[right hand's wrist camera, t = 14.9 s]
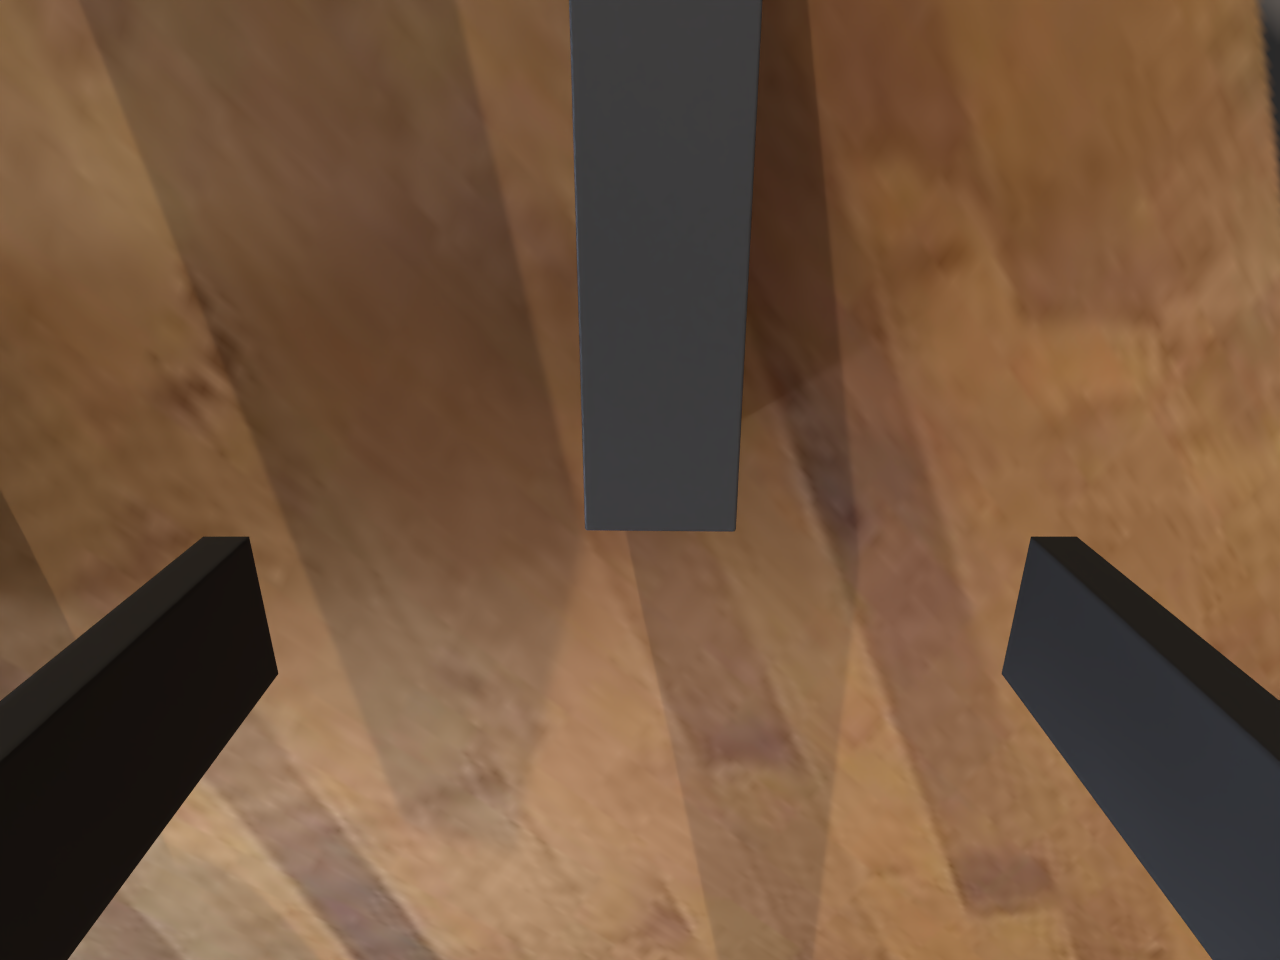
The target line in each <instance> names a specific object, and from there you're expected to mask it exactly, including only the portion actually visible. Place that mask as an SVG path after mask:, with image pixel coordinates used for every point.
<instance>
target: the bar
mask: <svg viewBox="0 0 1280 960" xmlns="http://www.w3.org/2000/svg"><path fill="white" fill-rule="evenodd" d="M569 11H570V44H571V77H572V110H573V143H574V176H575V210H576V243H577V276H578V309H579V342H580V375H581V409H582V442H583V475H584V508H585V529H586V530H623V531H735V530H736V514H737V494H738V474H739V455H740V435H741V415H742V395H743V375H744V355H745V335H746V316H747V296H748V276H749V256H750V236H751V216H752V197H753V177H754V157H755V137H756V117H757V97H758V78H759V58H760V38H761V18H762V0H569Z"/></svg>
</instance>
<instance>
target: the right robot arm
mask: <svg viewBox="0 0 1280 960" xmlns="http://www.w3.org/2000/svg"><path fill="white" fill-rule="evenodd" d="M277 675H278V670H277V665H276V661H275V656H274V651H273V647H272V642H271V637H270V633H269V628H268V623H267V619H266V614H265V609H264V605H263V600H262V595H261V591H260V586H259V581H258V577H257V572H256V567H255V563H254V558H253V553H252V549H251V544H250V539H249V537H202V538H201V539H200V540H199V541H197V542H196V543H195V544H194V545H192V546H191V547H190V548H189V549H188V550H186V551H185V552H184V553H183V554H181V555H180V556H179V557H178V558H176V559H175V560H174V561H173V562H171V563H170V564H169V565H168V566H167V567H165V568H164V569H163V570H162V571H160V572H159V573H158V574H157V575H155V576H154V577H153V578H152V579H150V580H149V581H148V582H147V583H146V584H144V585H143V586H142V587H141V588H139V589H138V590H137V591H136V592H134V593H133V594H132V595H131V596H130V597H128V598H127V599H126V600H125V601H123V602H122V603H121V604H120V605H118V606H117V607H116V608H115V609H113V610H112V611H111V612H110V613H109V614H107V615H106V616H105V617H104V618H102V619H101V620H100V621H99V622H97V623H96V624H95V625H94V626H92V627H91V628H90V629H89V630H88V631H86V632H85V633H84V634H83V635H81V636H80V637H79V638H78V639H76V640H75V641H74V642H73V643H71V644H70V645H69V646H68V647H67V648H65V649H64V650H63V651H62V652H60V653H59V654H58V655H57V656H55V657H54V658H53V659H52V660H50V661H49V662H48V663H47V664H46V665H44V666H43V667H42V668H41V669H39V670H38V671H37V672H36V673H34V674H33V675H32V676H31V677H29V678H28V679H27V680H26V681H25V682H23V683H22V684H21V685H20V686H18V687H17V688H16V689H15V690H13V691H12V692H11V693H10V694H8V695H7V696H6V697H5V698H4V699H2V700H1V701H0V960H68V958H69V957H70V956H71V954H72V953H73V951H74V950H75V949H76V947H77V946H78V945H79V943H80V942H81V941H82V939H83V938H84V937H85V935H86V934H87V932H88V931H89V930H90V928H91V927H92V926H93V924H94V923H95V922H96V920H97V919H98V918H99V916H100V915H101V913H102V912H103V911H104V909H105V908H106V907H107V905H108V904H109V903H110V901H111V900H112V899H113V897H114V896H115V894H116V893H117V892H118V890H119V889H120V888H121V886H122V885H123V884H124V882H125V881H126V880H127V878H128V877H129V876H130V874H131V873H132V871H133V870H134V869H135V867H136V866H137V865H138V863H139V862H140V861H141V859H142V858H143V857H144V855H145V854H146V852H147V851H148V850H149V848H150V847H151V846H152V844H153V843H154V842H155V840H156V839H157V838H158V836H159V835H160V833H161V832H162V831H163V829H164V828H165V827H166V825H167V824H168V823H169V821H170V820H171V819H172V817H173V816H174V814H175V813H176V812H177V810H178V809H179V808H180V806H181V805H182V804H183V802H184V801H185V800H186V798H187V797H188V795H189V794H190V793H191V791H192V790H193V789H194V787H195V786H196V785H197V783H198V782H199V781H200V779H201V778H202V777H203V775H204V774H205V772H206V771H207V770H208V768H209V767H210V766H211V764H212V763H213V762H214V760H215V759H216V758H217V756H218V755H219V753H220V752H221V751H222V749H223V748H224V747H225V745H226V744H227V743H228V741H229V740H230V739H231V737H232V736H233V734H234V733H235V732H236V730H237V729H238V728H239V726H240V725H241V724H242V722H243V721H244V720H245V718H246V717H247V715H248V714H249V713H250V711H251V710H252V709H253V707H254V706H255V705H256V703H257V702H258V701H259V699H260V698H261V696H262V695H263V694H264V692H265V691H266V690H267V688H268V687H269V686H270V684H271V683H272V682H273V680H274V679H275V678H276V676H277ZM1002 675H1003V676H1004V678H1005V679H1006V680H1007V682H1008V683H1009V684H1010V686H1011V687H1012V688H1013V690H1014V691H1015V692H1016V694H1017V695H1018V696H1019V698H1020V699H1021V701H1022V702H1023V703H1024V705H1025V706H1026V707H1027V709H1028V710H1029V711H1030V713H1031V714H1032V715H1033V717H1034V718H1035V720H1036V721H1037V722H1038V724H1039V725H1040V726H1041V728H1042V729H1043V730H1044V732H1045V733H1046V734H1047V736H1048V737H1049V739H1050V740H1051V741H1052V743H1053V744H1054V745H1055V747H1056V748H1057V749H1058V751H1059V752H1060V753H1061V755H1062V756H1063V758H1064V759H1065V760H1066V762H1067V763H1068V764H1069V766H1070V767H1071V768H1072V770H1073V771H1074V772H1075V774H1076V775H1077V777H1078V778H1079V779H1080V781H1081V782H1082V783H1083V785H1084V786H1085V787H1086V789H1087V790H1088V791H1089V793H1090V794H1091V795H1092V797H1093V798H1094V800H1095V801H1096V802H1097V804H1098V805H1099V806H1100V808H1101V809H1102V810H1103V812H1104V813H1105V814H1106V816H1107V817H1108V819H1109V820H1110V821H1111V823H1112V824H1113V825H1114V827H1115V828H1116V829H1117V831H1118V832H1119V833H1120V835H1121V836H1122V838H1123V839H1124V840H1125V842H1126V843H1127V844H1128V846H1129V847H1130V848H1131V850H1132V851H1133V852H1134V854H1135V855H1136V857H1137V858H1138V859H1139V861H1140V862H1141V863H1142V865H1143V866H1144V867H1145V869H1146V870H1147V871H1148V873H1149V874H1150V876H1151V877H1152V878H1153V880H1154V881H1155V882H1156V884H1157V885H1158V886H1159V888H1160V889H1161V890H1162V892H1163V893H1164V895H1165V896H1166V897H1167V899H1168V900H1169V901H1170V903H1171V904H1172V905H1173V907H1174V908H1175V909H1176V911H1177V912H1178V913H1179V915H1180V916H1181V918H1182V919H1183V920H1184V922H1185V923H1186V924H1187V926H1188V927H1189V928H1190V930H1191V931H1192V932H1193V934H1194V935H1195V937H1196V938H1197V939H1198V941H1199V942H1200V943H1201V945H1202V946H1203V947H1204V949H1205V950H1206V951H1207V953H1208V954H1209V956H1210V957H1211V958H1212V960H1280V700H1278V699H1276V698H1275V697H1274V696H1273V695H1272V694H1270V693H1269V692H1268V691H1267V690H1265V689H1264V688H1263V687H1262V686H1260V685H1259V684H1258V683H1257V682H1255V681H1254V680H1253V679H1252V678H1251V677H1249V676H1248V675H1247V674H1246V673H1244V672H1243V671H1242V670H1241V669H1239V668H1238V667H1237V666H1236V665H1234V664H1233V663H1232V662H1231V661H1230V660H1228V659H1227V658H1226V657H1225V656H1223V655H1222V654H1221V653H1220V652H1218V651H1217V650H1216V649H1215V648H1213V647H1212V646H1211V645H1210V644H1209V643H1207V642H1206V641H1205V640H1204V639H1202V638H1201V637H1200V636H1199V635H1197V634H1196V633H1195V632H1194V631H1192V630H1191V629H1190V628H1189V627H1188V626H1186V625H1185V624H1184V623H1183V622H1181V621H1180V620H1179V619H1178V618H1176V617H1175V616H1174V615H1173V614H1171V613H1170V612H1169V611H1168V610H1167V609H1165V608H1164V607H1163V606H1162V605H1160V604H1159V603H1158V602H1157V601H1155V600H1154V599H1153V598H1152V597H1150V596H1149V595H1148V594H1147V593H1146V592H1144V591H1143V590H1142V589H1141V588H1139V587H1138V586H1137V585H1136V584H1134V583H1133V582H1132V581H1131V580H1129V579H1128V578H1127V577H1126V576H1125V575H1123V574H1122V573H1121V572H1120V571H1118V570H1117V569H1116V568H1115V567H1113V566H1112V565H1111V564H1110V563H1109V562H1107V561H1106V560H1105V559H1104V558H1102V557H1101V556H1100V555H1099V554H1097V553H1096V552H1095V551H1094V550H1092V549H1091V548H1090V547H1089V546H1088V545H1086V544H1085V543H1084V542H1083V541H1081V540H1080V539H1079V538H1078V537H1031V539H1030V544H1029V549H1028V553H1027V558H1026V563H1025V567H1024V572H1023V577H1022V581H1021V586H1020V591H1019V595H1018V600H1017V605H1016V609H1015V614H1014V619H1013V623H1012V628H1011V633H1010V637H1009V642H1008V647H1007V651H1006V656H1005V661H1004V665H1003V670H1002Z"/></svg>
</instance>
